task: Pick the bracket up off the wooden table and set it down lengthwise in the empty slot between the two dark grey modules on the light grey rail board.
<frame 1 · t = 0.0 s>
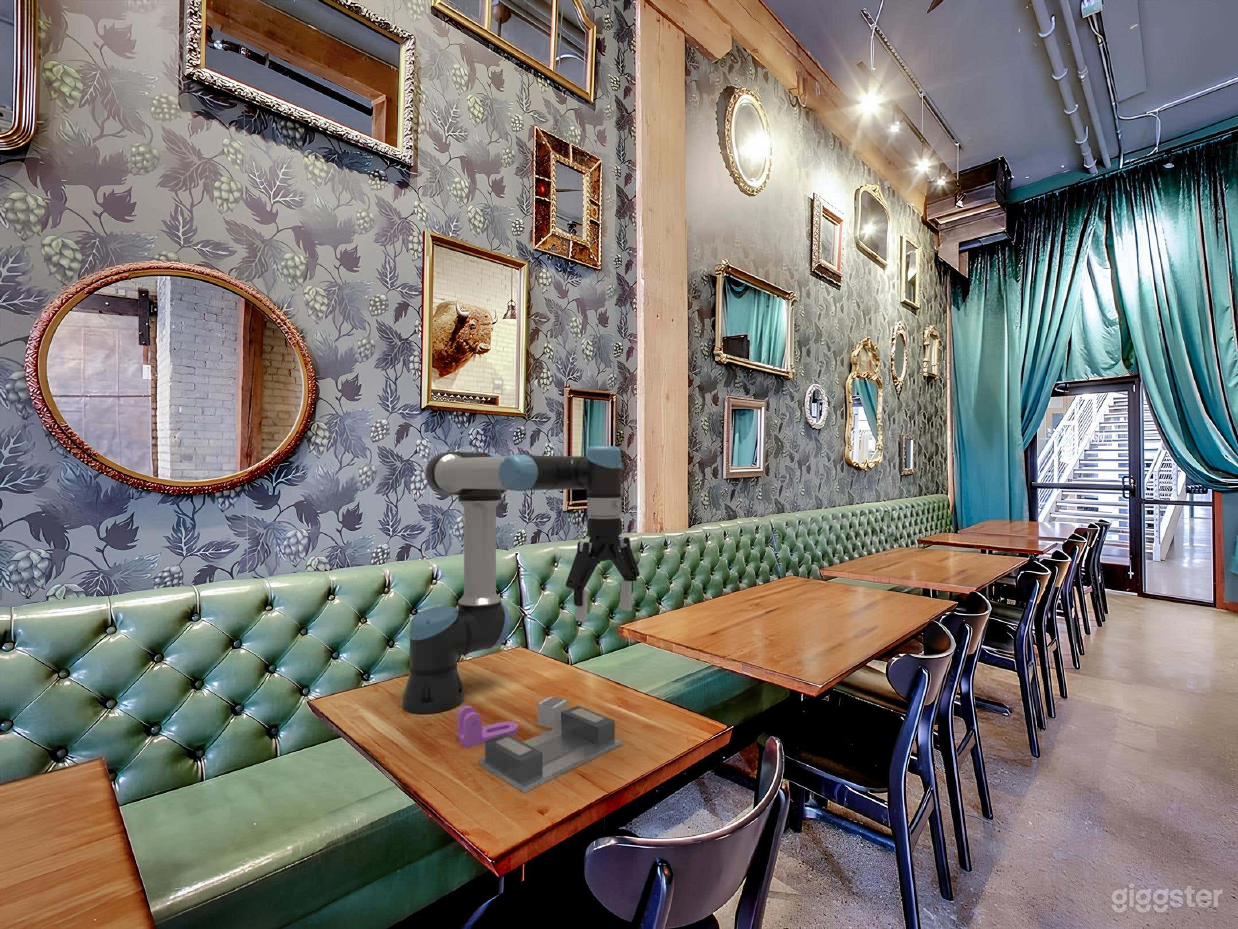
hand: (604, 615, 126), 28 cm above the table, fingers open, 13 cm apart
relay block: (552, 723, 137), on the table
rail board: (552, 754, 121), on the table
bracket: (490, 737, 130), on the table
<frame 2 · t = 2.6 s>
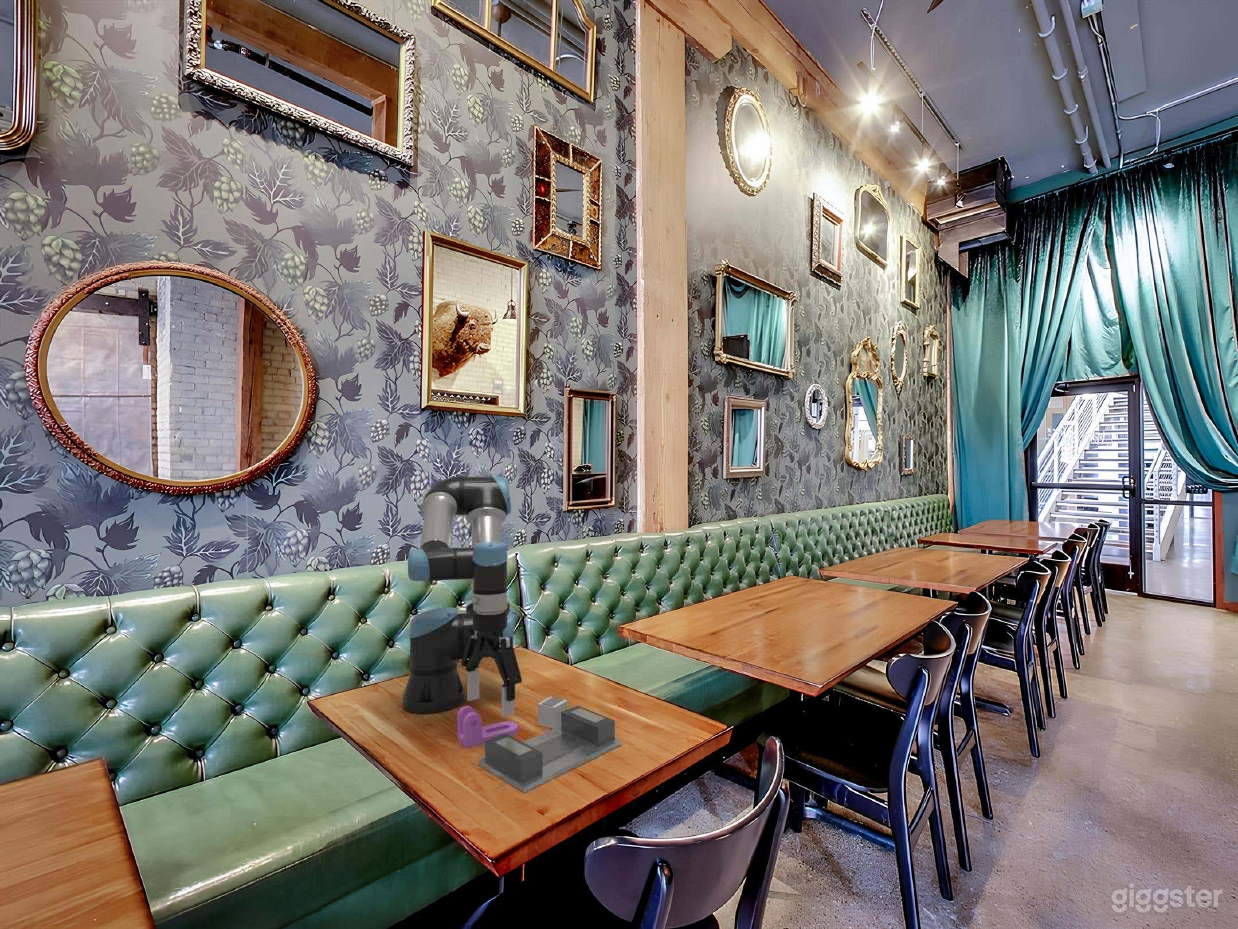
hand: (490, 707, 130), 7 cm above the table, fingers open, 13 cm apart
nothing on the table moved.
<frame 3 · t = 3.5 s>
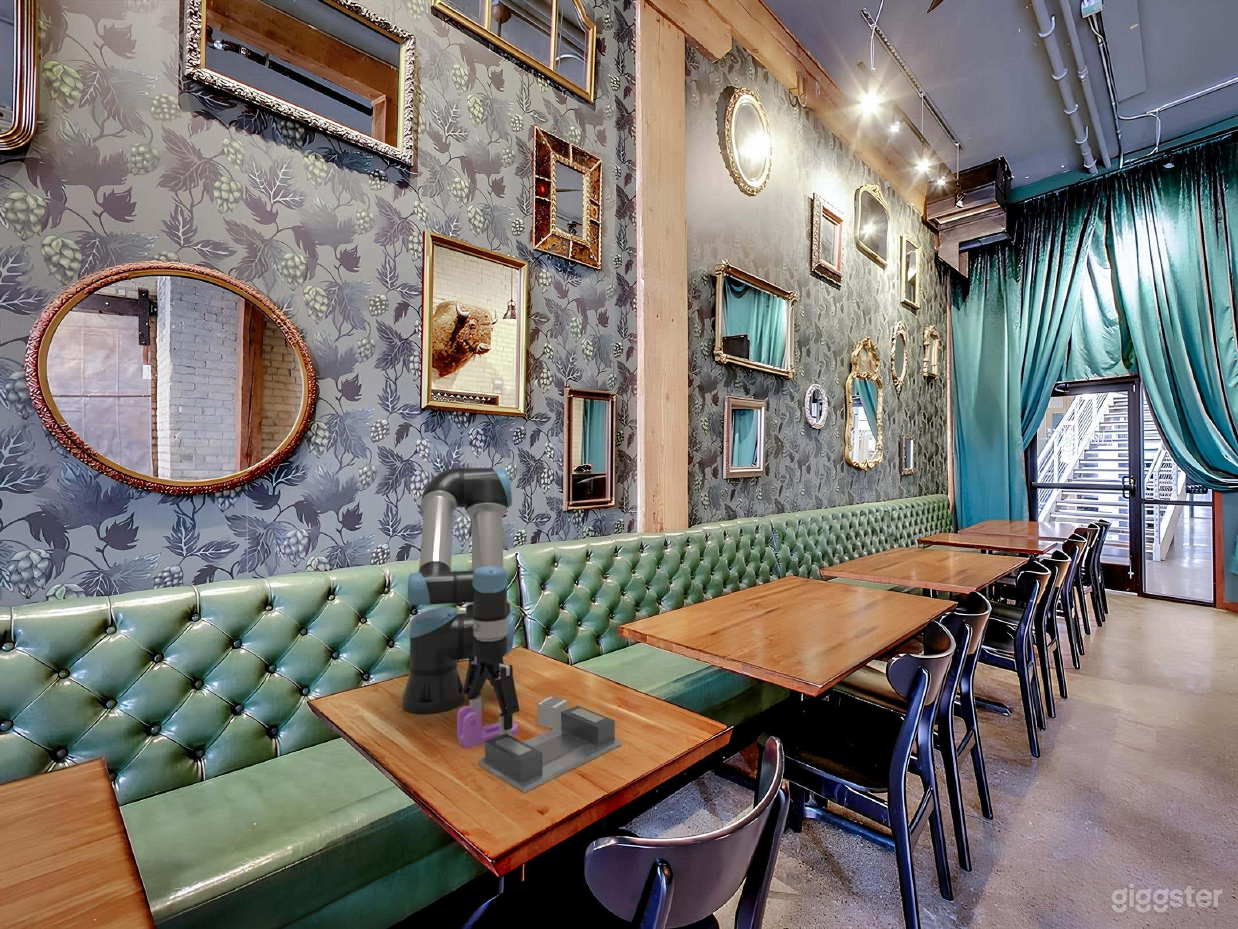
hand: (490, 735, 130), 0 cm above the table, fingers open, 11 cm apart
nothing on the table moved.
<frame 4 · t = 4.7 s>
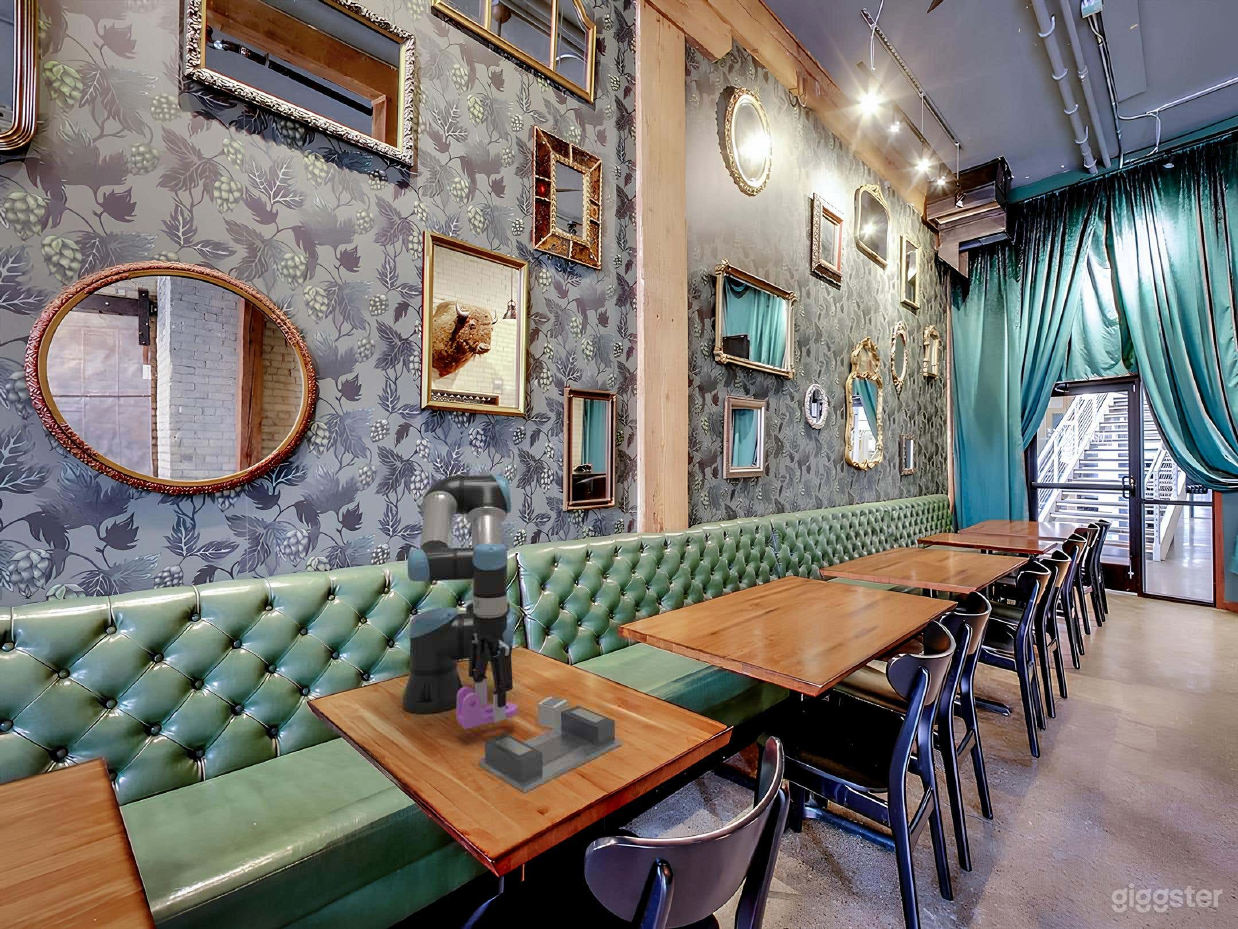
hand: (489, 714, 131), 4 cm above the table, fingers closed on bracket, 6 cm apart
bracket: (488, 718, 131), point 4 cm above the table, touching gripper
everything else where it was.
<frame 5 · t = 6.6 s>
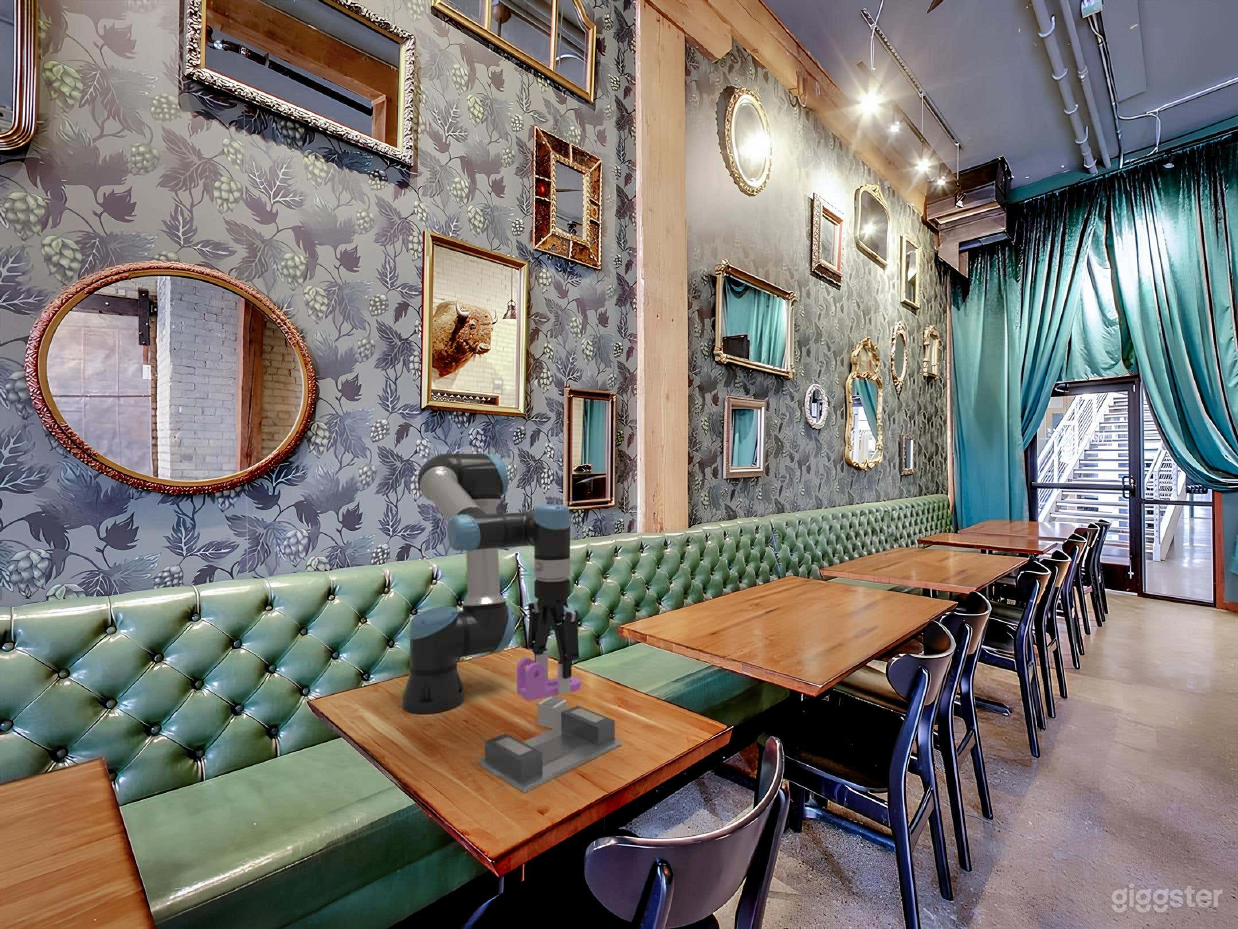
hand: (552, 688, 121), 14 cm above the table, fingers closed on bracket, 6 cm apart
bracket: (551, 692, 121), point 13 cm above the table, touching gripper
everything else where it was.
when the fingers open (2 cm above the table, at t = 8.4 s): bracket stays where it is, resting on rail board.
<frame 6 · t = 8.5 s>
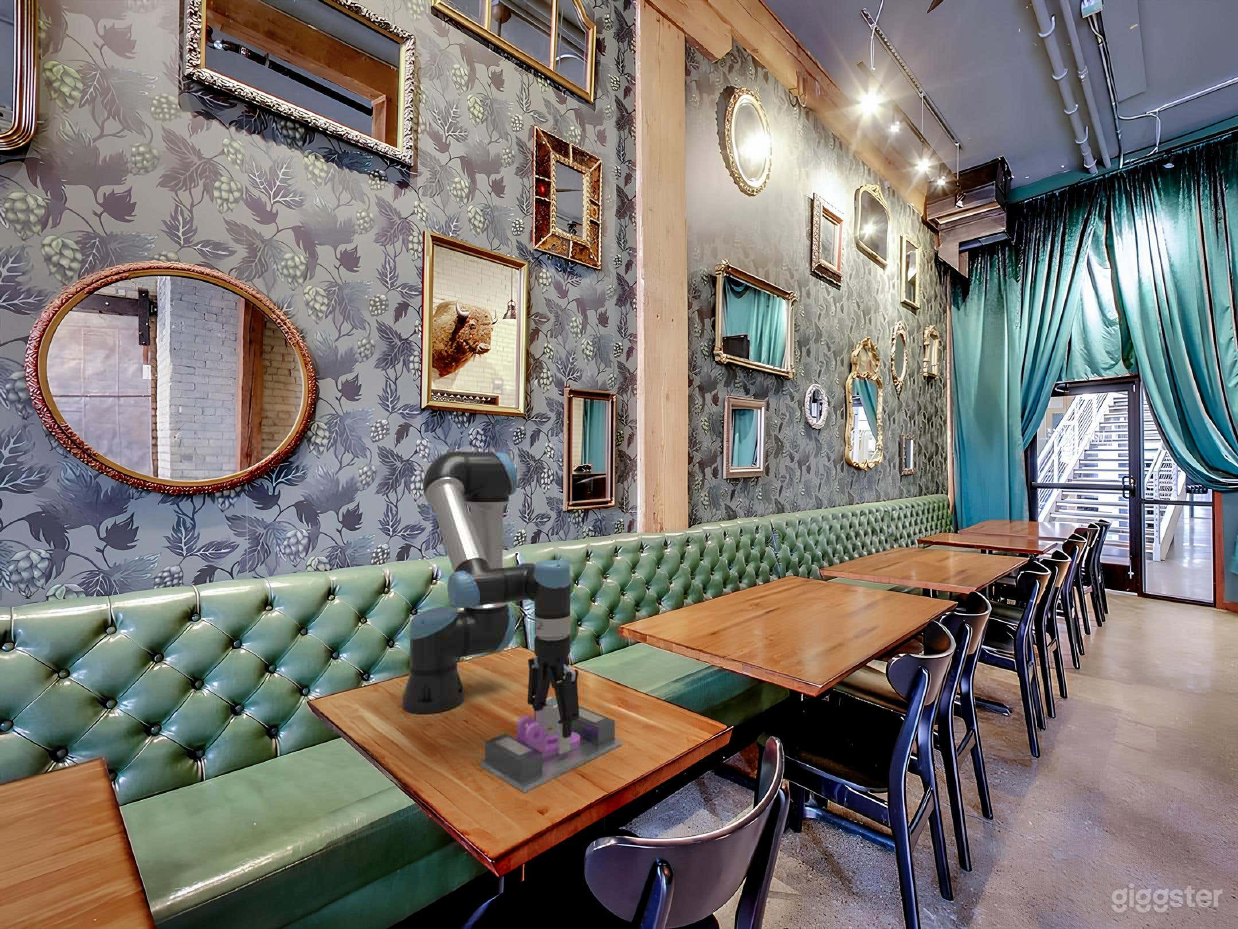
hand: (552, 746, 121), 2 cm above the table, fingers open, 7 cm apart
bracket: (551, 749, 121), point 1 cm above the table, touching rail board
everything else where it was.
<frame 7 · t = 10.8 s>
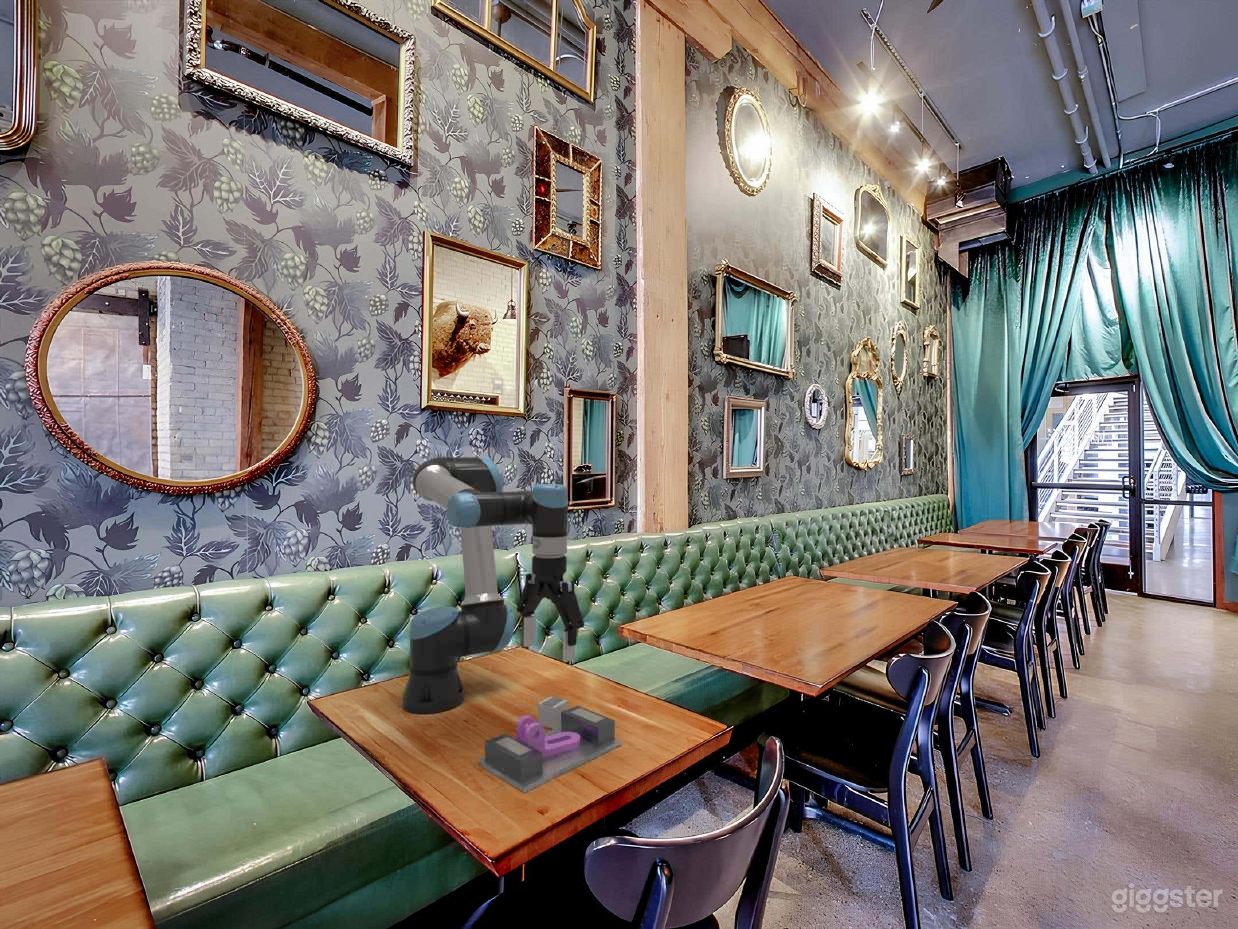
hand: (548, 652, 126), 20 cm above the table, fingers open, 13 cm apart
nothing on the table moved.
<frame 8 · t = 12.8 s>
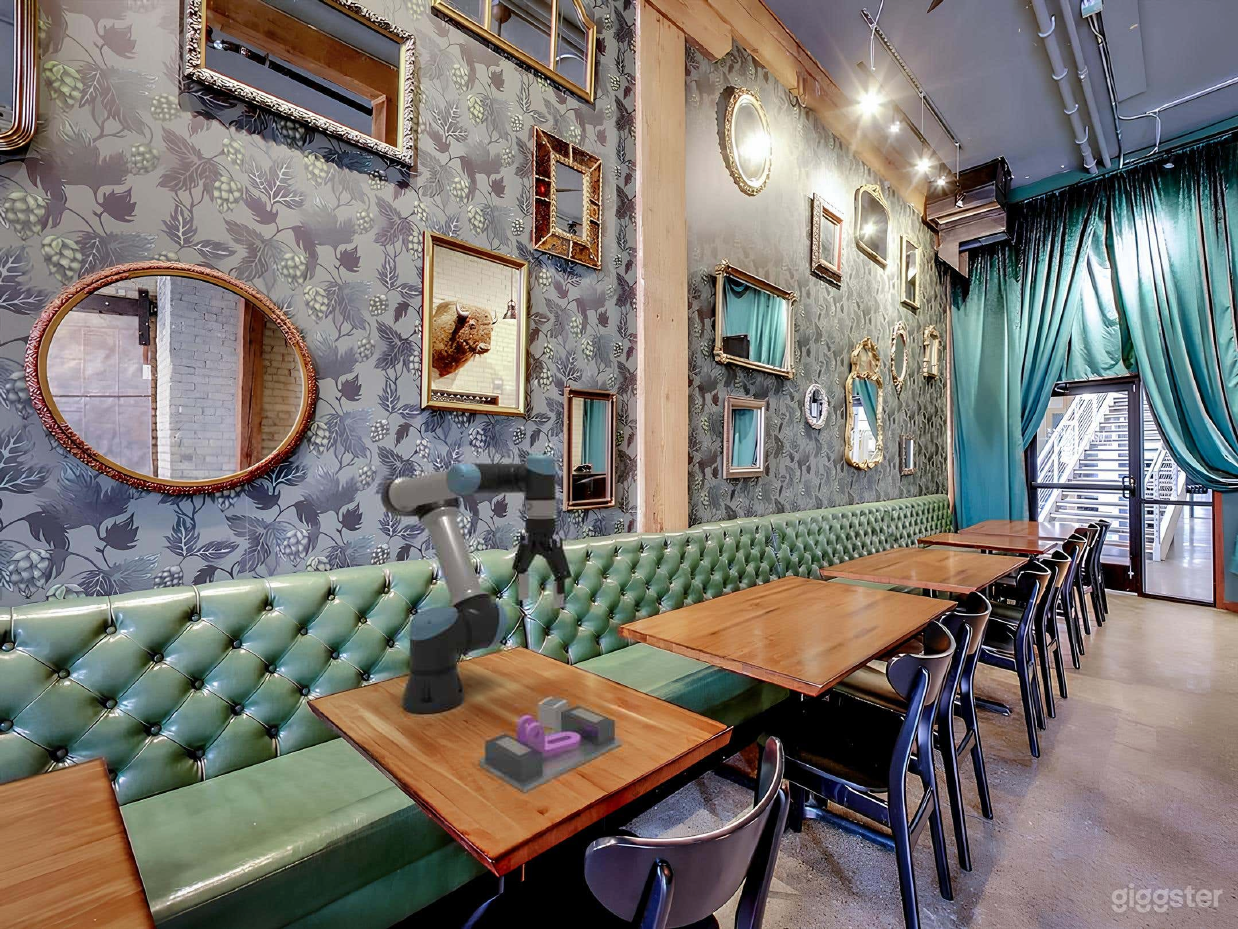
hand: (540, 603, 144), 27 cm above the table, fingers open, 13 cm apart
nothing on the table moved.
at the end: bracket inside the target area on the rail board (0.2 cm from its centre), point 1.1 cm above the rail board's base; bracket tilted 0°; the gripper is holding nothing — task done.
